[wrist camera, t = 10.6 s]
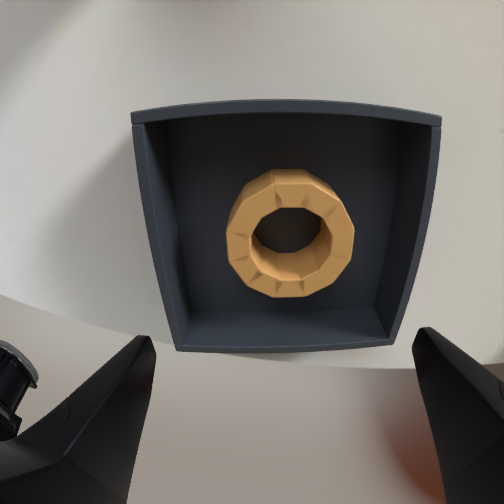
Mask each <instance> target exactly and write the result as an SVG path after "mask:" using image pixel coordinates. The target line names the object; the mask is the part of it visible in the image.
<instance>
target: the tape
mask: <svg viewBox="0 0 504 504" xmlns="http://www.w3.org/2000/svg"><path fill="white" fill-rule="evenodd" d="M279 208H306V209H307V210H309V211H311V212H313V213H315V214H316V215H318V216H320V217H321V226H320V231H319V233H318V234H317V236H316V237H315V239H314V240H313V241H312V243H311V244H310V245H309V246H307V247H305V248H303V249H301V250H299V251H297V252H295V253H277V252H275V251H273V250H271V249H269V248H267V247H264V246H262V245H261V243H260V242H259V240H258V239H257V237H256V236H255V235H254V233H253V231H254V230H255V228H256V226H257V224H258V223H259V221H260V219H261V218H263V217H265V216H266V215H268V214H270V213H272V212H274V211H275V210H277V209H279ZM354 232H355V230H354V226H353V224H352V222H351V220H350V218H349V216H348V214H347V212H346V209H345V207H344V205H343V203H342V202H341V200H340V199H339V198H338V196H337V195H336V193H335V192H334V191H333V189H332V188H331V187H330V185H328V183H326V182H325V181H323V180H321V179H320V178H318V177H316V176H314V175H313V174H311V173H309V172H308V171H306V170H304V169H272V170H269V171H267V172H265V173H264V174H262V175H260V176H258V177H257V178H255V179H253V180H251V181H250V182H248V183H246V184H245V185H244V187H243V188H242V190H241V192H240V194H239V196H238V198H237V199H236V201H235V203H234V205H233V207H232V209H231V212H230V216H229V220H228V225H227V229H226V243H227V255H228V261H229V263H230V265H231V266H232V267H233V269H234V270H235V271H236V272H237V274H238V275H239V276H240V278H241V279H242V280H243V282H244V283H245V284H246V285H247V286H248V287H250V288H253V289H255V290H257V291H259V292H262V293H264V294H266V295H268V296H271V297H273V298H274V297H275V298H280V297H304V296H308V295H310V294H312V293H314V292H316V291H318V290H320V289H322V288H324V287H326V286H328V285H330V284H332V283H333V282H334V281H335V280H336V279H337V277H338V276H339V275H340V273H341V272H342V271H343V270H344V268H345V267H346V266H347V264H348V263H349V262H350V260H351V255H352V248H353V240H354Z"/></svg>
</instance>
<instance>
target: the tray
mask: <svg viewBox="0 0 504 504" xmlns="http://www.w3.org/2000/svg"><path fill="white" fill-rule="evenodd" d="M131 123H132V133H133V142H134V150H135V158H136V166H137V173H138V180H139V186H140V193H141V199H142V205H143V211H144V216H145V222H146V227H147V232H148V238H149V243H150V247H151V252H152V257H153V262H154V266H155V271H156V275H157V279H158V284H159V288H160V292H161V296H162V300H163V304H164V308H165V312H166V316H167V319H168V323H169V327H170V330H171V334H172V338H173V341H174V344H175V348H176V351H182V352H205V353H291V352H314V351H330V350H344V349H356V348H366V347H376V346H385V345H393V344H394V342H395V339H396V337H397V334H398V331H399V328H400V325H401V322H402V320H403V317H404V314H405V310H406V307H407V304H408V301H409V298H410V295H411V291H412V288H413V284H414V281H415V277H416V274H417V270H418V266H419V262H420V259H421V255H422V250H423V246H424V242H425V237H426V233H427V228H428V223H429V218H430V213H431V208H432V202H433V196H434V190H435V183H436V176H437V168H438V160H439V151H440V140H441V128H440V127H441V123H442V116H440V115H435V114H430V113H425V112H419V111H414V110H408V109H402V108H395V107H388V106H380V105H372V104H363V103H353V102H341V101H326V100H303V99H253V100H230V101H215V102H203V103H193V104H184V105H175V106H167V107H160V108H154V109H147V110H141V111H135V112H131ZM272 169H304V170H306V171H308V172H309V173H311V174H313V175H314V176H316V177H318V178H320V179H321V180H323V181H325V182H326V183H328V185H330V187H331V188H332V189H333V191H334V192H335V193H336V195H337V196H338V198H339V199H340V200H341V202H342V203H343V205H344V207H345V209H346V212H347V214H348V216H349V218H350V220H351V222H352V224H353V226H354V230H355V232H354V240H353V248H352V255H351V260H350V262H349V263H348V264H347V266H346V267H345V268H344V270H343V271H342V272H341V273H340V275H339V276H338V277H337V279H336V280H335V281H334V282H333V283H332V284H330V285H328V286H326V287H324V288H322V289H320V290H318V291H316V292H314V293H312V294H310V295H308V296H304V297H280V298H275V297H274V298H273V297H271V296H268V295H266V294H264V293H262V292H259V291H257V290H255V289H253V288H250V287H248V286H247V285H246V284H245V283H244V282H243V280H242V279H241V278H240V276H239V275H238V274H237V272H236V271H235V270H234V269H233V267H232V266H231V265H230V263H229V261H228V255H227V243H226V229H227V225H228V220H229V216H230V212H231V209H232V207H233V205H234V203H235V201H236V199H237V198H238V196H239V194H240V192H241V190H242V188H243V187H244V185H245V184H246V183H248V182H250V181H251V180H253V179H255V178H257V177H258V176H260V175H262V174H264V173H265V172H267V171H269V170H272ZM320 226H321V217H320V216H318V215H316V214H315V213H313V212H311V211H309V210H307V209H306V208H279V209H277V210H275V211H274V212H272V213H270V214H268V215H266V216H265V217H263V218H261V219H260V221H259V223H258V224H257V226H256V228H255V230H254V231H253V233H254V235H255V236H256V237H257V239H258V240H259V242H260V243H261V245H262V246H264V247H267V248H269V249H271V250H273V251H275V252H277V253H295V252H297V251H299V250H301V249H303V248H305V247H307V246H309V245H310V244H311V243H312V241H313V240H314V239H315V237H316V236H317V234H318V233H319V231H320Z"/></svg>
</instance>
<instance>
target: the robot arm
mask: <svg viewBox="0 0 504 504" xmlns="http://www.w3.org/2000/svg"><path fill="white" fill-rule="evenodd" d="M412 353H413V358H414V362H415V367H416V372H417V377H418V382H419V387H420V391H421V394H422V397H423V401H424V404H425V408H426V411H427V415H428V419H429V423H430V427H431V431H432V434H433V439H434V443H435V447H436V451H437V456H438V461H439V466H440V471H441V476H442V481H443V484H444V485H443V488H444V494H445V501H446V504H504V382H503V381H501V380H500V379H498V378H497V377H496V376H495V375H494V374H492V373H491V372H490V371H489V370H487V369H486V368H485V367H483V366H482V365H481V364H479V363H478V362H477V361H476V360H474V359H473V358H472V357H470V356H469V355H468V354H466V353H465V352H464V351H462V350H461V349H460V348H458V347H457V346H456V345H454V344H453V343H452V342H450V341H449V340H448V339H446V338H445V337H444V336H442V335H441V334H440V333H438V332H437V331H435V330H434V329H433V328H431V327H423V328H420V329H419V330H418V332H417V335H416V337H415V339H414V342H413V344H412ZM155 363H156V352H155V349H154V346H153V343H152V340H151V338H150V337H149V336H144V335H138V336H136V337H135V338H134V339H133V340H132V341H130V343H128V344H127V345H126V346H125V347H124V348H123V349H121V350H120V351H119V352H118V353H117V354H116V355H115V356H113V357H112V358H111V359H110V360H109V361H108V362H107V363H106V364H104V365H103V366H102V367H101V368H100V369H99V370H98V371H96V372H95V373H94V374H93V375H92V376H91V377H90V378H88V379H87V380H86V381H85V382H84V383H83V384H82V385H81V386H79V387H78V388H77V389H76V390H75V391H74V392H73V393H72V394H71V395H70V396H69V397H67V398H66V399H65V400H64V401H63V402H61V403H60V404H59V405H58V406H57V407H56V408H55V409H53V410H52V411H51V412H50V413H48V414H47V415H46V416H44V417H43V418H42V419H40V420H39V421H38V422H36V423H35V424H34V425H32V426H31V427H29V428H28V429H27V430H25V431H24V432H22V433H21V434H20V435H18V436H17V433H18V431H19V427H20V424H21V422H22V418H20V417H18V416H17V415H16V414H15V412H16V410H17V407H18V405H19V404H20V402H21V400H22V398H23V396H24V394H25V392H26V390H27V389H28V387H31V388H34V389H36V388H37V385H36V383H35V382H34V381H33V379H32V378H31V377H30V375H29V374H28V372H27V371H26V370H25V368H24V367H23V365H22V364H21V362H20V361H19V359H18V358H17V356H16V355H14V354H11V353H8V352H5V351H2V350H0V504H126V503H127V497H128V492H129V487H130V483H131V477H132V473H133V468H134V464H135V459H136V455H137V451H138V446H139V442H140V438H141V434H142V430H143V425H144V421H145V418H146V413H147V410H148V406H149V401H150V397H151V391H152V383H153V377H154V370H155Z"/></svg>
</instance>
